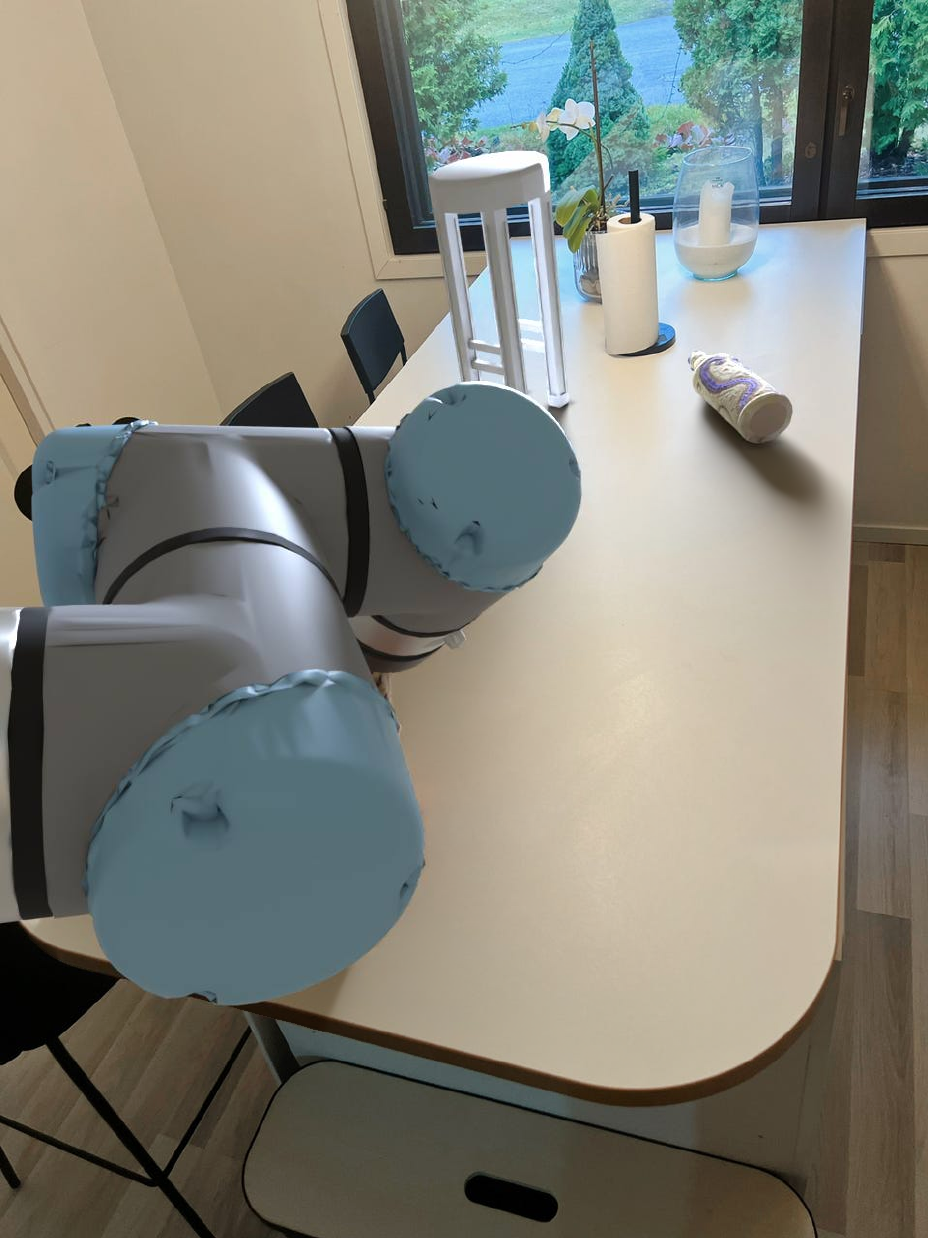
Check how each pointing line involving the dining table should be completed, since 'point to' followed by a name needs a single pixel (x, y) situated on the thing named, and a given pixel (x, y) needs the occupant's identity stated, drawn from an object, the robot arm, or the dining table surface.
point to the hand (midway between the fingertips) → (325, 677)
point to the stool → (501, 264)
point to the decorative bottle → (740, 396)
